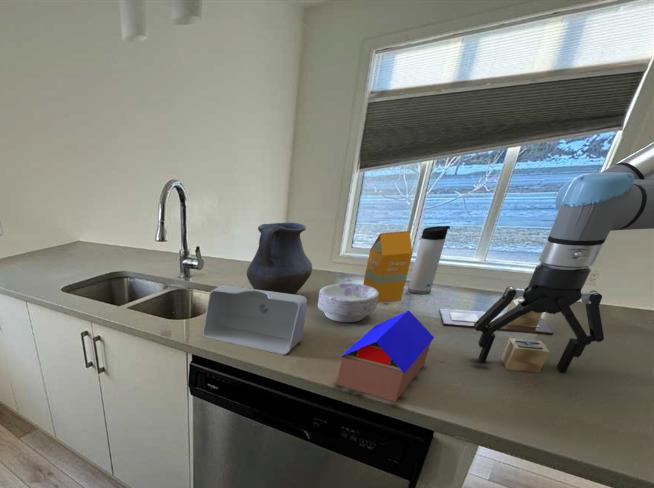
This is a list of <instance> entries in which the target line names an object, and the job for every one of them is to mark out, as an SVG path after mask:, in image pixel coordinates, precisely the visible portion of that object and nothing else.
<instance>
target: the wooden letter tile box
mask: <svg viewBox="0 0 654 488" xmlns="http://www.w3.org/2000/svg"><path fill="white" fill-rule="evenodd" d="M522 301H524V298H517V299H515V300H512V302H511V303H510V304H509V305H508V306H507V310H506V312H505V313H507V312H508V311H510V310H511V309H513V308H515V307H516V306H517V305H518V304H519V303H521V302H522ZM542 315H543V313H535V312H534V311H530V312H529V313H527V314H524V315H522V316H520V317H518V318H517V319H515V320H513V321H512V322H510V323H509V324H516V325H529V326H537V324H538V322H539V320H540V317H541V318H542Z"/></svg>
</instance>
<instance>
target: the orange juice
mask: <svg viewBox="0 0 654 488" xmlns="http://www.w3.org/2000/svg"><path fill="white" fill-rule="evenodd" d="M412 256H413V248H412V240H411V232H410V230H404V231H394V232H393V231H392V232H382V233H379V235H378V236H377V238H376V240H375V241H374V242H373V244H372V245H371V248H370V249H369V254H368V258H367V264H366V268H365V273H364V280H363V284H362V285H366V286H370V287H373V288H375V289H376V290H377V291H378V292H379V296H378V302H377V303H384V302H396V301H401V300H402V298H403V293H404V289H405V285H406V282H407V278H408V274H409V269H410V265H411V261H412Z"/></svg>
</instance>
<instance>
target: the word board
mask: <svg viewBox="0 0 654 488" xmlns="http://www.w3.org/2000/svg"><path fill="white" fill-rule="evenodd" d="M438 311H439V315H440V318H441V322H442V326H445V327H455V328H465V329H466V328H467V329H475V326H474V323H475V322H476V321H477V320H478V319H479V318H480V317H482V316H483V315H484V314H485V313H486V312H487V311H484V310H483V311H482V310H468V309H456V308H455V309H453V308H441V307H440V308H439V309H438ZM505 313H506V312H501V313H499V314H498V315H497V316H496V317H495V318H494V319H493V320H492V321H494V320H495V319H497V318H499V317H500V316H502V315H503V314H505ZM492 321H491V322H492ZM498 331H501V332H511V333H512V332H514V333H523V334H538V335H547V336H548V335H549V336H553V335H554V331H553V330H552V329H551V328H550V326H549V325H548V324H547V323H546V322H545V320H544V319H543V317H542V316H541V317H540V320H539V322H538V324H537V326H529V325H516V324H509V323H508V324H507V325H505V326H503V327H502V328H500V329H499V330H498Z"/></svg>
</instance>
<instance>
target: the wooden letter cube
mask: <svg viewBox="0 0 654 488" xmlns="http://www.w3.org/2000/svg"><path fill="white" fill-rule="evenodd" d="M549 353H550V350H549V349H548V348H547V346H546V345H545V343H544V342H543V341H542V340H533V339H532V340H531V339H523V338H514V337H513V338H511V337H509V338H508V340H507V343H506V346H505V348H504V350H503V352H502V356H501V357H500V358H501V361H502V364H503V365H504V367H505V369H506V370H508V371H509V370H510V371H518V372H525V373H535V374H540V372H541V370H542V368H543V366H544V364H545V362H546V360H547V358H548V356H549Z"/></svg>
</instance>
